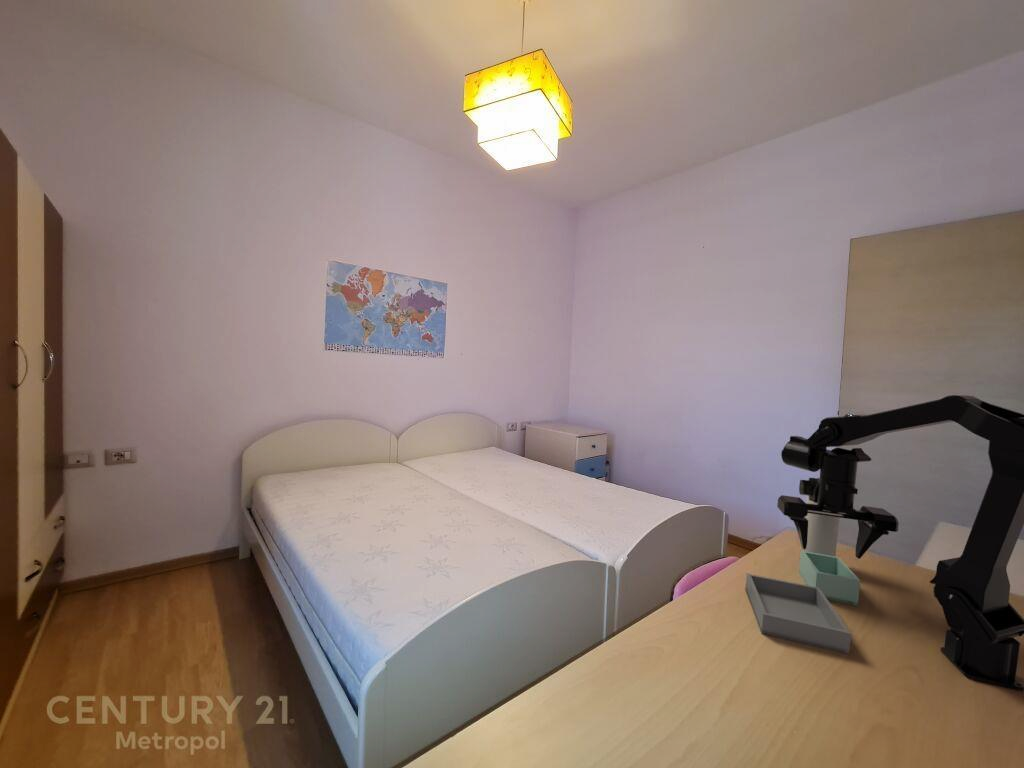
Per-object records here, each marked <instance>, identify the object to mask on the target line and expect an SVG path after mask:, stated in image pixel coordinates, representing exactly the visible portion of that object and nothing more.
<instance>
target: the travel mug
mask: <svg viewBox="0 0 1024 768" xmlns="http://www.w3.org/2000/svg"><path fill="white" fill-rule="evenodd" d="M808 480H809V481H812V484H813V485H816V484H817V480H818V478H817V477H815V478H814V477H808ZM805 503H807V504H815V505H817V503H815V502H813V501H810V500H809V496H808V495H806V502H805ZM823 511H826V510H823ZM829 512H830V511H829ZM838 513H839V512H838ZM805 518H806V519H807V520H808V537H807V546H806V549H803V548H802V547H801V551H806V552H811V553H817V554H823V555H829V556H835V557H837V546H838V537H839V536H838V535H839V527H840V526H839V525H840V517H833V516H826V515H819V514H812V513H808V514H807V516H805Z"/></svg>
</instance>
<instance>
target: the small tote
mask: <svg viewBox="0 0 1024 768" xmlns="http://www.w3.org/2000/svg"><path fill="white" fill-rule="evenodd" d="M799 555H800V556H799V563H798V564H799V566H798V574H799V575H800V577H801V578H802V580H803V582H804V583H805V585H809V586H814V587H819V588H820V590H821V591H822V592H823V594H824V595H825V597H826V598H827V600H828V601H833V602H838V603H842V604H843V603H844V604H846V605H847V604H848V605H853V606H858V605H859V600H860V599H859V598H860V586H861V580H860V579H859V577H858V576H857V575H856V574H855V573H854V572H853V571H852V570H851V569H850V568H849V566H848V565H847V564H846V563H845V562H844V561H843V560H842V559H841V558H840V556H836V557H835V556H829V555H823V554H817V553H811V552H806V551H802V550H800V554H799Z"/></svg>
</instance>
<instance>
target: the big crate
mask: <svg viewBox="0 0 1024 768" xmlns="http://www.w3.org/2000/svg"><path fill="white" fill-rule="evenodd" d="M744 590H745V593H746V595H747V598H748V601H749V604H750V606H751V608H752V611H753V614H754V617H755V619H756V620H755V621H757V622H756V623H757V624H758V627H759V631H760V633H761V634H764V635H767V636H771V637H776V638H780V639H784V640H788V641H793V642H796V643H800V644H801V643H802V644H804V645H805V644H806V645H810V646H813V647H818V648H822V649H826V650H831V651H835V652H839V653H842V654H843V653H844V654H847V655H849V654H850V649H851V641H852V632H851V631H850V630H849V628H848V627H847V625H846V624H845V623H844V621H843V619H842V618H841V617H840V615H839V614H838V612H837V611H836V610H835V608H834V606H833V605H832V604H831V603H830V600H827V598H826V597H825V595H824V594H823V592H822V591H821V590H820V588H819V587H814V586H809V585H806V584H803V583H798V582H793V581H787V580H784V579H783V580H782V579H777V578H773V577H766V576H762V575H757V574H751V573H746V577H745V589H744Z"/></svg>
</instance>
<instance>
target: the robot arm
mask: <svg viewBox="0 0 1024 768" xmlns="http://www.w3.org/2000/svg"><path fill="white" fill-rule="evenodd" d="M952 422H954V423H956V424H958V425H960V426H961V427H963V428H964V429H966V430H967V431H969V432H970V433H972V434H974V435H976V436H978V437H981V438H982V439H984V440H987V441H988V442H989V443H988V451H987V456H988V459H989V462H990V467H991V477H990V479H989V482H988V484H987V486H986V489H985V493H984V495H983V497H982V500H981V503H980V506H979V508H978V511H977V514H976V516H975V519H974V522H973V524H972V526H971V529H970V531H969V535H968V537H967V540H966V542H965V543H966V544H965V545H964V549H963V551H962V553H961V555H960V556H958V557H953V558H946V559H941V560H938V562H937V565H936V571H935V576H934V577H933V578H931V579H930V580H929V583H930V584H933V585H934V586H933V596H934V598H936V599H937V601H938V603H939V605H940V606H941V608H942V611H943V615H944V618H945V620H946V621H945V622H946V624H947V626H948V627H949V628H947V629H946V631H945V639H944V646H940V649H939V650H940V652H941V653H942V654H943V655H945V656H946V658H947V659H948V660H949V661H950V662H951V663H952V664H953V665H954V666H955V667H956V668H957V669H958V670H959V671H960V673H962V675H964V676H965V677H966V678H969V679H973V680H976V681H979V682H980V681H981V682H986V683H990V684H994V685H998V686H1003V687H1005V688H1010V689H1015V690H1019V691H1024V685H1023V684H1022V683H1021V682H1020V681H1019V680H1018V679H1017V678H1016V677H1017V670H1018V663H1019V654H1020V648H1021V643H1020V642H1019V641H1018V640H1017V639H1015V638H1017V637H1023V636H1024V618H1023V616H1021V615H1020V614H1019V612H1018V611H1017V610H1016V609H1015V608H1014V607H1013V606H1012V605H1011V603H1010V602H1009V601H1010V593H1011V592H1010V591H1011V583H1010V580H1009V576H1008V571H1007V569H1008V568H1007V566H1008V564H1009V562H1010V559H1011V557H1012V554H1013V551H1014V549H1015V547H1016V545H1017V542H1018V540H1019V536H1020V534H1021V532H1022V530H1023V527H1024V413H1021V412H1018V411H1015V410H1012V409H1008V408H1006V407H1002V406H998V405H995V404H991V403H989V402H986V401H984V400H982V399H980V398H977V397H975V396H974V395H967V394H965V395H962V394H958V395H957V394H954V395H953V394H952V395H950V394H949V395H946V396H944V397H941V398H939V399H934V400H930V401H926V402H921V403H917V404H913V405H908V406H904V407H897V408H894V409H889V410H886V411H881V412H876V413H872V414H866V415H865V414H863V415H845V416H844V415H843V416H829V417H825V418H823V419H821V420H820V423H819V425H818V428H817V429H816V430H815V432H813V433H812V434H811V435H810V436H809V437H808V438H806V437H803V436H800V435H799V436H798V435H790V437H789V441H788V442H787V443H786V444H785V445H784V446H783V449H782V450H781V455H780V456H781V459H782V462H783V463H784V464H785V465H787V466H791V467H794V468H798V469H801V470H805V471H809V472H812V473H816V472H818V471H819V477H818V478H817V479H818V480H817V484H816V485H813V484H812V481H809V479H808V480H807V479H800V480H799V485H798V489H799V490H798V492H799V495H801V496H807V495H808V496H809V500H810V501H813V502H815V503H817V505H815V504H807V503H806V502H805V501H804V500H803V499H802V498H801V497H797V496H792V495H791V496H790V495H784V494H783V495H780V496H779V497H778V499H777V505H776V506H777V508H778V510H779V511H781V513H782V515H784V516H785V517H786V516H787V517H788V518H789V519H790V521H792V522H793V523H794V525H795V528H796V531H797V532H796V533H797V535H798V539H799V541H800V544H801V549H802V548H803V549H806V546H807V537H808V520H807V519H806V518H805V516H807V514H808V513H812V514H819V515H826V516H833V517H839V519H841V518H842V519H847V520H855V521H857V526H858V532H857V539H856V545H855V557H856V559H861V558H862V557H863V556H864V555H865V553H866V552H867V551H868V550H869V549H870V547H872V545H873V544H874V543H875V542H876V541H878V540H879V539H880V538H881V537H882V536H883V535H885V536H888V535H889V533H890V532H895V533H896V532H899V524H900V523H899V520H898V518H897V517H896V516H895V515H894V514H892V513H891V512H889V511H887V510H886V509H885V508H881V507H873V506H866V505H862V506H861V507H860V508H859V509H860V510H858V509H855V508H854V504H855V503H854V501H855V495H858V492H859V491H858V488H857V487H856V482H857V472H858V471H857V470H858V463H862V462H871V461H872V458H871V457H870V456H869V455H868V454H867V453H866V452H864V450H863V449H862V448H861V447H856V448H855V447H853V448H851V449H846V448H841V447H842V446H843V447H844V446H857V445H858V446H859V445H861V444H864V443H866V442H871V441H873V440H875V439H877V438H878V437H881V436H883V435H886V434H892V433H896V432H901V431H902V432H903V431H908V430H914V429H917V428H918V429H920V428H925V427H929V426H930V427H931V426H936V425H941V424H947V423H952ZM833 447H834V448H833ZM828 448H833V449H831V450H830V449H828ZM823 510H826V511H823ZM829 511H830V512H829ZM838 512H839V513H838Z"/></svg>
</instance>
